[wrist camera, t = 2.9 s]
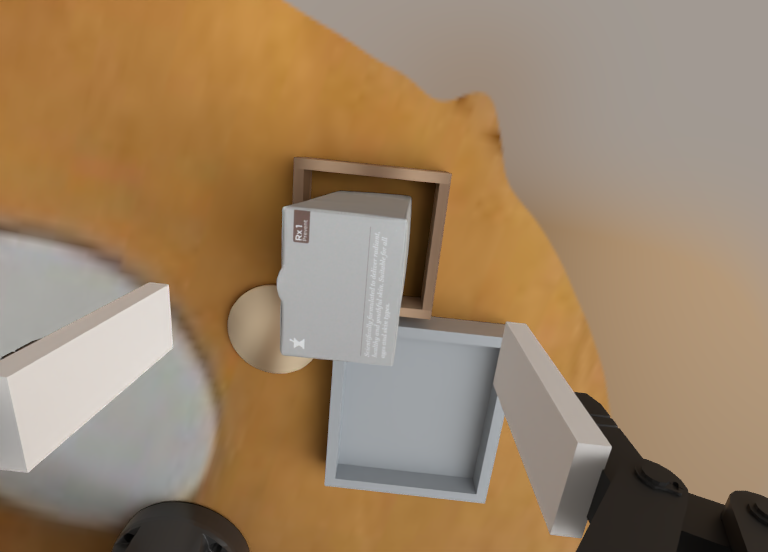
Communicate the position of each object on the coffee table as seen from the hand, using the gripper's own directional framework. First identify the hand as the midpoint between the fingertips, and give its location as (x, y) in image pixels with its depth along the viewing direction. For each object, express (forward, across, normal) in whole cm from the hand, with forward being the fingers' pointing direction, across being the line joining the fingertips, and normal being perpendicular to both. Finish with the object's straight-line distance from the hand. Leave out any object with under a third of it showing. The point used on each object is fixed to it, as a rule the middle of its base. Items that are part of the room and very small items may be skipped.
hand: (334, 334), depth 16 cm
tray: (+20, +6, -16) cm, 27 cm away
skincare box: (+21, 0, 0) cm, 21 cm away
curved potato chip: (+20, -8, -10) cm, 24 cm away
